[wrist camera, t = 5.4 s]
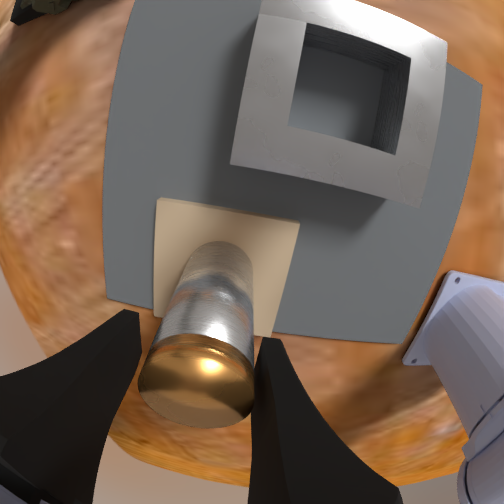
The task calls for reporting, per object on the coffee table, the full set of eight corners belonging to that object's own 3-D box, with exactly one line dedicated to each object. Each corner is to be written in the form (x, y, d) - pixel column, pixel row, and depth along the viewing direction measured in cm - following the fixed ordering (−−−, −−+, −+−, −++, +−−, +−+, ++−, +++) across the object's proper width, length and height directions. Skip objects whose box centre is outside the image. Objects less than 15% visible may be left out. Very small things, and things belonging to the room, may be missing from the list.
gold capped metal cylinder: (260, 250, 14) (269, 373, 7) (244, 306, 15) (239, 435, 8) (193, 233, 14) (137, 343, 6) (182, 291, 15) (138, 413, 8)
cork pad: (298, 220, 14) (300, 224, 14) (270, 330, 17) (270, 337, 16) (160, 197, 14) (156, 200, 13) (156, 310, 17) (153, 315, 16)
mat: (478, 85, 10) (482, 84, 10) (400, 340, 18) (402, 343, 17) (138, 2, 10) (135, -1, 9) (109, 294, 17) (107, 298, 16)
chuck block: (417, 54, 10) (447, 42, 7) (391, 192, 13) (419, 208, 10) (266, 8, 10) (266, -20, 7) (236, 157, 13) (229, 164, 10)
